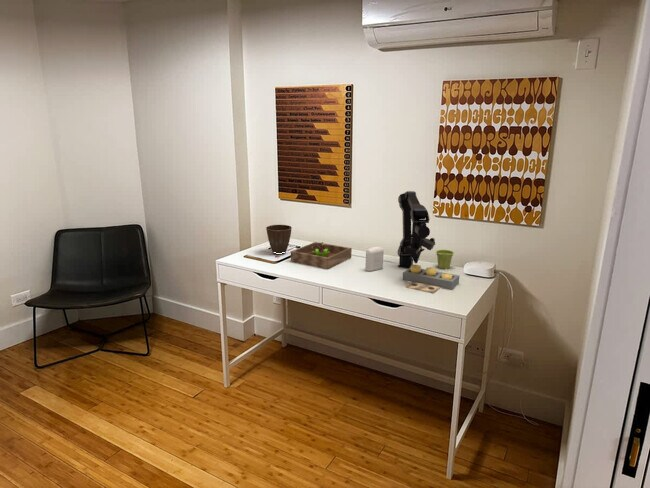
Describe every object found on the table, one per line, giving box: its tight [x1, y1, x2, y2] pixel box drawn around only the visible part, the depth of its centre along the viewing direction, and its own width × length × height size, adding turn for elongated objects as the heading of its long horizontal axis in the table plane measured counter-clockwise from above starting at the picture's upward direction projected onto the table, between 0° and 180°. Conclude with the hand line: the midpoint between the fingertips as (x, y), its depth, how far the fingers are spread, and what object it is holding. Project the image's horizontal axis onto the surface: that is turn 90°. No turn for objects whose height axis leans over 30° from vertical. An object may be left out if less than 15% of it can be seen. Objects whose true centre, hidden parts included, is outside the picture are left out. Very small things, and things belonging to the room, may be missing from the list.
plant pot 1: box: [265, 224, 292, 256], centre depth 271 cm, size 15×15×16 cm
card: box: [405, 282, 440, 294], centre depth 217 cm, size 14×8×1 cm, turn 57°
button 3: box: [441, 272, 452, 280], centre depth 221 cm, size 5×5×4 cm
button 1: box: [410, 264, 422, 274], centre depth 229 cm, size 5×5×4 cm
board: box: [402, 267, 460, 291], centre depth 225 cm, size 25×11×4 cm, turn 57°
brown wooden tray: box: [290, 241, 352, 270], centre depth 259 cm, size 25×25×6 cm
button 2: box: [425, 266, 437, 277], centre depth 224 cm, size 5×5×4 cm
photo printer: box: [365, 246, 384, 272], centre depth 242 cm, size 10×4×12 cm, turn 123°
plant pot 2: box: [435, 249, 455, 270], centre depth 247 cm, size 9×9×9 cm
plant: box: [308, 242, 335, 258], centre depth 259 cm, size 20×20×11 cm
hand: (416, 263), depth 228 cm, fingers closed
